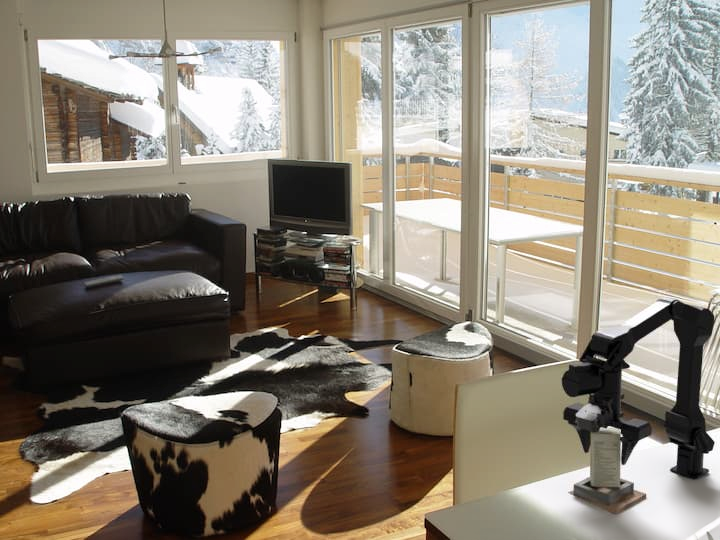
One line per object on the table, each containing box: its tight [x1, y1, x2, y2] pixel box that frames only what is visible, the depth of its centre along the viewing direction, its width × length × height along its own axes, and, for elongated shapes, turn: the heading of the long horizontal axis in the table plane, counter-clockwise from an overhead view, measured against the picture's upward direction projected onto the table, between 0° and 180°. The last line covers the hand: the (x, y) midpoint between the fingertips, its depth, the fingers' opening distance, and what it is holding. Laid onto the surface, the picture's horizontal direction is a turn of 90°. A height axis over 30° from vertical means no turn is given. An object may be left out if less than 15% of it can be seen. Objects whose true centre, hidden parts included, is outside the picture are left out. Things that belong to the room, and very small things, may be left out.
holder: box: [567, 476, 647, 515], centre depth 180 cm, size 12×12×3 cm
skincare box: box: [589, 427, 622, 487], centre depth 179 cm, size 6×4×12 cm
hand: (604, 458), depth 179 cm, fingers open, 9 cm apart
